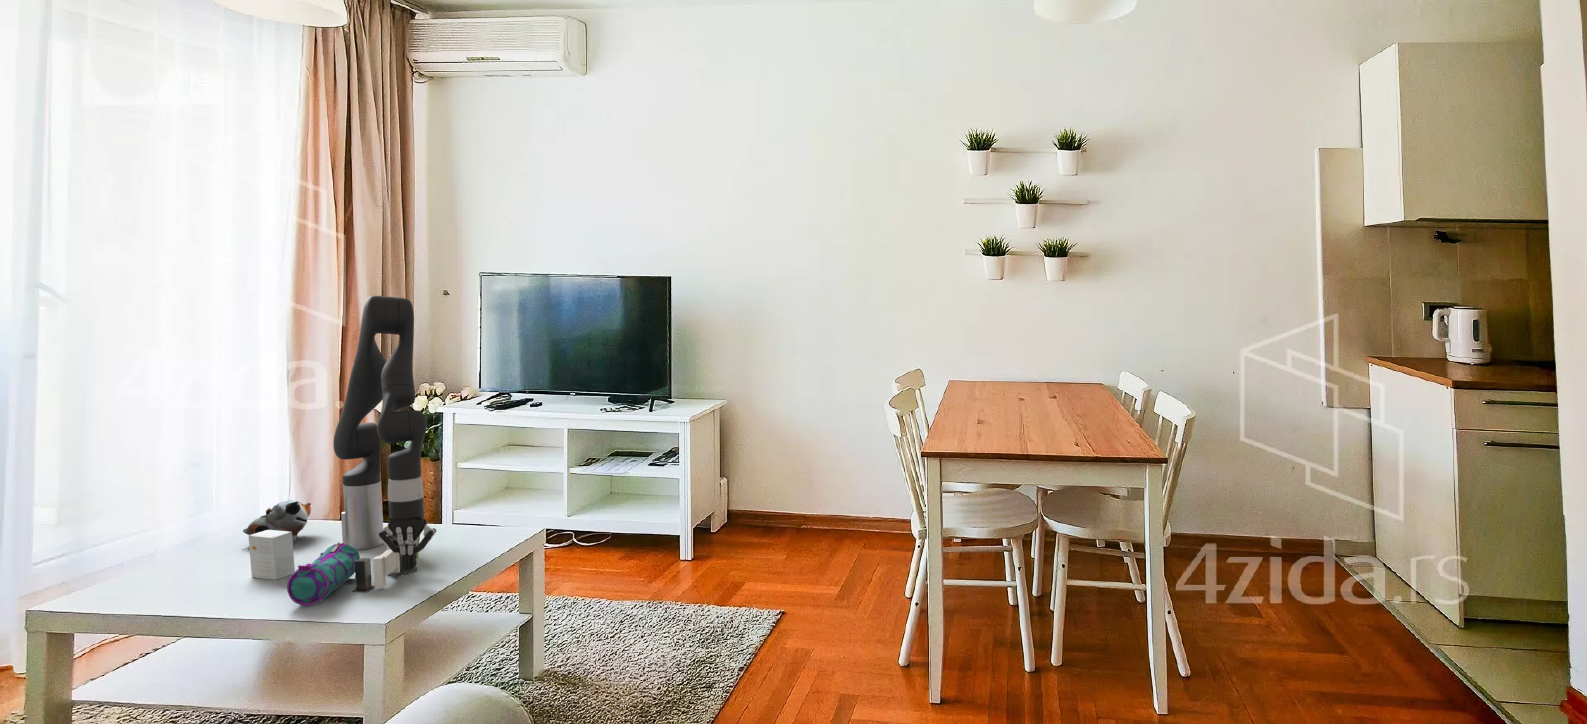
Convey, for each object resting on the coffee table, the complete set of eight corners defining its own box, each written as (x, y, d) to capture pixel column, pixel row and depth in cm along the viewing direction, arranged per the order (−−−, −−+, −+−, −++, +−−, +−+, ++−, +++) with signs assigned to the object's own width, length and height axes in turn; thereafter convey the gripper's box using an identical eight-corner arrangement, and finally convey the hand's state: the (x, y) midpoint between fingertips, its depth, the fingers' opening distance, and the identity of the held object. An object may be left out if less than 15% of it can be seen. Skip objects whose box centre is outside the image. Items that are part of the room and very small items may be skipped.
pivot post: (380, 574, 219) (377, 530, 219) (402, 567, 225) (399, 524, 224) (395, 577, 216) (393, 533, 215) (417, 570, 222) (415, 527, 221)
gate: (390, 573, 218) (389, 541, 217) (400, 573, 218) (398, 540, 217) (373, 588, 207) (372, 554, 206) (383, 588, 207) (381, 554, 207)
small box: (295, 573, 221) (293, 531, 220) (275, 580, 216) (273, 537, 215) (270, 570, 224) (268, 528, 223) (250, 577, 218) (248, 534, 217)
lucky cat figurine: (271, 533, 257) (296, 489, 259) (304, 552, 255) (328, 507, 256) (232, 532, 243) (258, 485, 244) (266, 552, 240) (292, 505, 242)
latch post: (352, 591, 207) (350, 561, 206) (361, 586, 210) (359, 557, 210) (367, 592, 206) (365, 562, 206) (375, 586, 210) (374, 557, 209)
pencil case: (322, 579, 216) (320, 540, 216) (361, 577, 218) (359, 538, 217) (286, 609, 196) (283, 566, 195) (329, 607, 197) (326, 564, 196)
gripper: (440, 492, 213) (444, 563, 214) (383, 493, 212) (387, 565, 214) (428, 499, 205) (432, 573, 207) (370, 500, 205) (374, 575, 206)
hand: (409, 569), depth 210 cm, fingers closed
